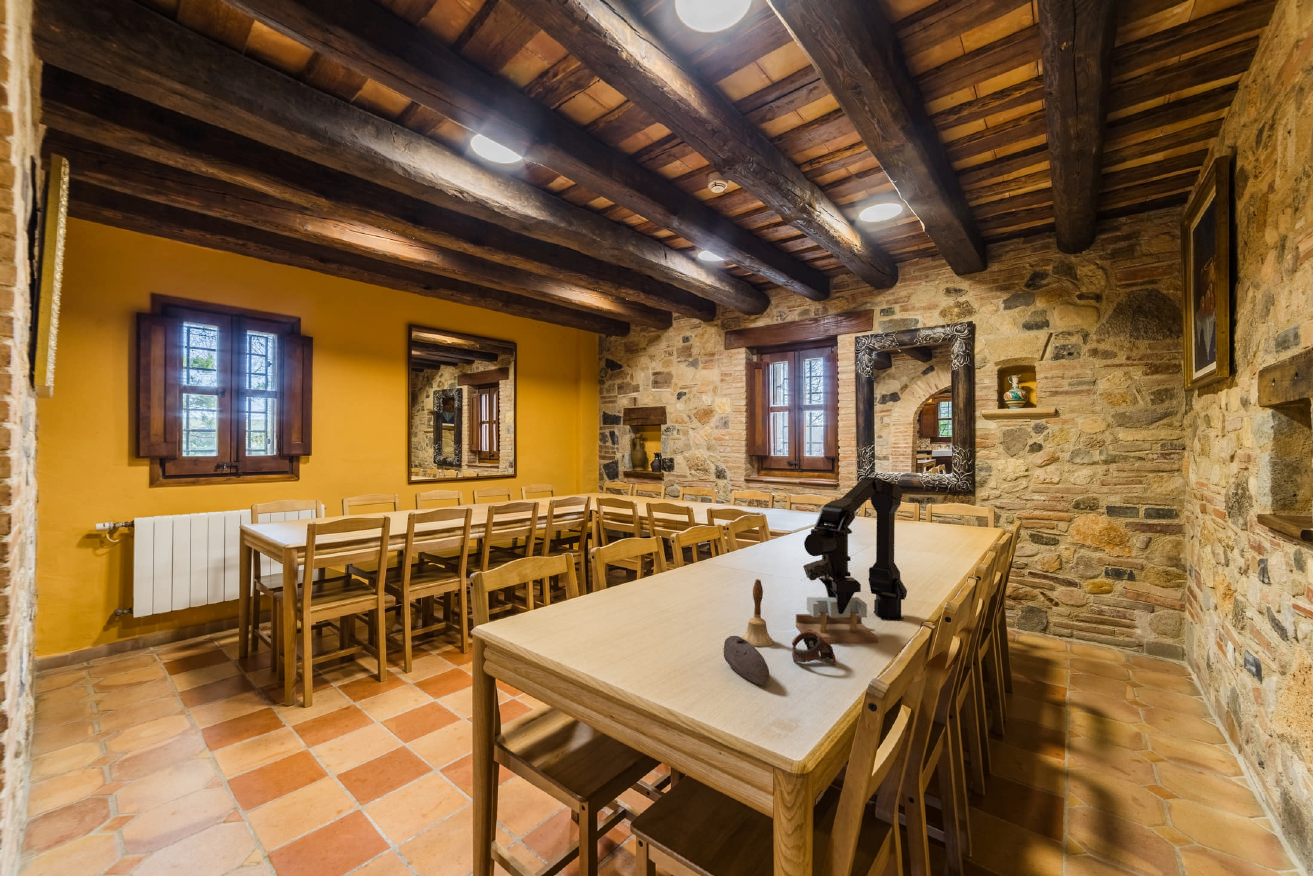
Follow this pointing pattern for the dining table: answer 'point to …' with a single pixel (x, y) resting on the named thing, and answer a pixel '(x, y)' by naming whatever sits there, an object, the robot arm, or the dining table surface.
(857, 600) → the grey notched panel
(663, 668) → the dining table surface
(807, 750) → the dining table surface
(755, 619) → the hand bell
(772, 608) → the dining table surface
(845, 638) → the board
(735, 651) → the perforated stone tool
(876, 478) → the robot arm
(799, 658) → the brown curved piece
